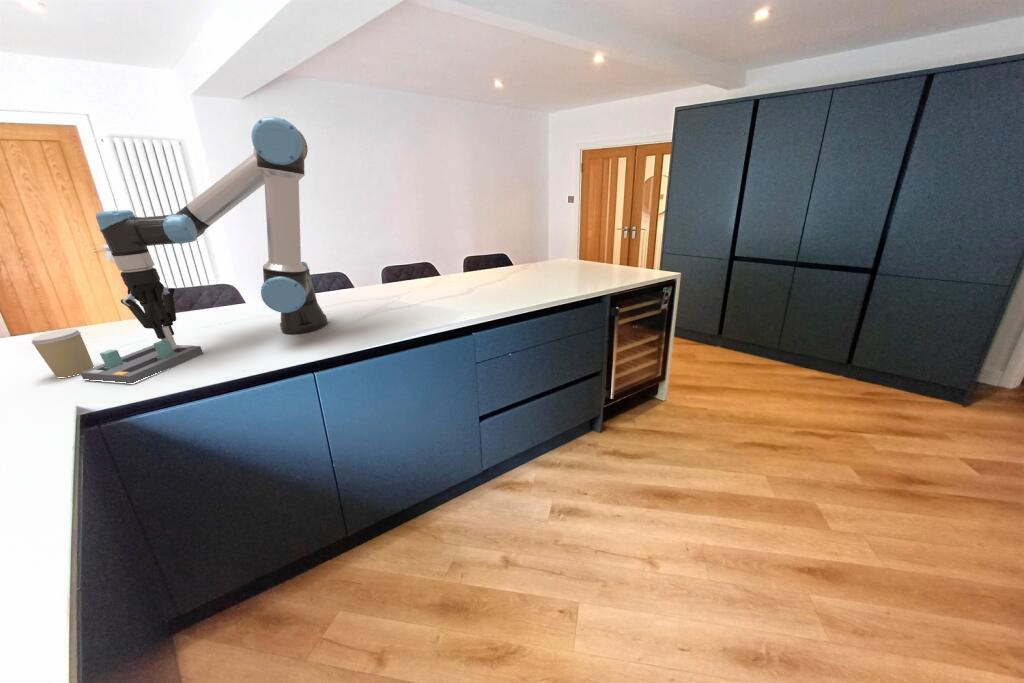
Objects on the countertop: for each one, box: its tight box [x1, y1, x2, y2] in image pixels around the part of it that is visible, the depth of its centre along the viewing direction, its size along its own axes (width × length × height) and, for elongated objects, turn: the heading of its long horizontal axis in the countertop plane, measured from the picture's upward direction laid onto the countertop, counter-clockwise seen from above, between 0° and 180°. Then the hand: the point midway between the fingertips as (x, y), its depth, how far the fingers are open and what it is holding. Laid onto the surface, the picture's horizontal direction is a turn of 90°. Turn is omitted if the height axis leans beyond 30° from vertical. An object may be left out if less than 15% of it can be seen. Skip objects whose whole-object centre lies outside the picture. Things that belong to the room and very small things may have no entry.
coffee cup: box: [31, 328, 95, 378], centre depth 111 cm, size 9×9×12 cm
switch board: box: [80, 344, 204, 383], centre depth 113 cm, size 18×20×3 cm
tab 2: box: [153, 340, 177, 361], centre depth 114 cm, size 3×4×5 cm
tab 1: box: [99, 349, 127, 371], centre depth 109 cm, size 3×4×5 cm
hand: (170, 347), depth 116 cm, fingers closed
